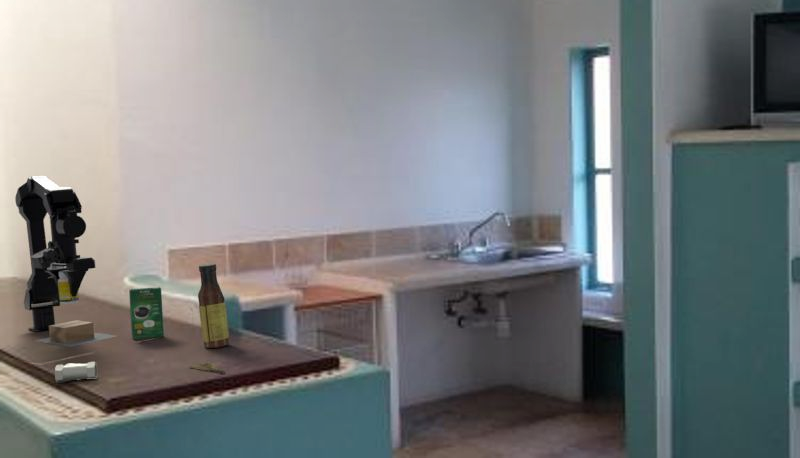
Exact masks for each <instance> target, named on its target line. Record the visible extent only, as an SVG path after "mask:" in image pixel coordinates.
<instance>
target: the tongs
mask: <svg viewBox="0 0 800 458" xmlns="http://www.w3.org/2000/svg"><path fill="white" fill-rule="evenodd" d="M203 364H204V365H203ZM205 365H206V366H205ZM210 367H211V368H210ZM189 368H190V369H193V368H195V369H194V370H198V369H201V371H204V370H208V371H207V372H210V371H213V372H212V373H216V372H219V373H218V374H220V373H222V374H221V375H224V374H225V375H226V372H225V371H224V370H223V369H219V368H217V366H216V365H215V364H214V363H212V362H208V361H206V362H204V363H199V364H198V365H196V364H193V365H190V366H189Z"/></svg>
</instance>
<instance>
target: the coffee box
mask: <svg viewBox="0 0 800 458" xmlns="http://www.w3.org/2000/svg"><path fill="white" fill-rule="evenodd" d="M128 292H129V308H130V309H129V310H130V311H129V312H130V325H131V326H130V327H131V338H132V340H140V339H141V340H143V339H151V338H152V339H159V338H164V336H165V330H164V316H163V313H164V312H163V298H162V288H161V287H160V286H157V287H156V286H155V287H145V288H143V287H142V288H130V289H129V290H128Z"/></svg>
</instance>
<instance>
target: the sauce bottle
mask: <svg viewBox="0 0 800 458" xmlns="http://www.w3.org/2000/svg"><path fill="white" fill-rule="evenodd" d="M198 271H199V272H200V283H201V284H200V289H199V291H198V293H197V299H198V311H199V320H200V328H201V335H202V337H201V338H202V342H203V346H204V348H206V349H218V348H223V347H226V346H228V345H229V342H230V339H229V337H230V334H229V325H228V316H227V308H226V299H225V296H224V294H223V291H222V290H221V287H220V285H219V282H218V278H217V265H216V263H206V264H200V265H198Z"/></svg>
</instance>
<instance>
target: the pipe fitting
mask: <svg viewBox="0 0 800 458" xmlns="http://www.w3.org/2000/svg"><path fill="white" fill-rule="evenodd" d="M98 369H99V368H98V364H97V362H95V361H88V362H87V363H72V362H70V363H69V362H68V363H66V364H56V365H55V367H54V378H55V382H56V383H57V384H61V383H67V382H71V381H70V380H76V381H78V380H77V379H87V378H96V376H97V377H98V372H99V371H98ZM87 380H88V379H87Z"/></svg>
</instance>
